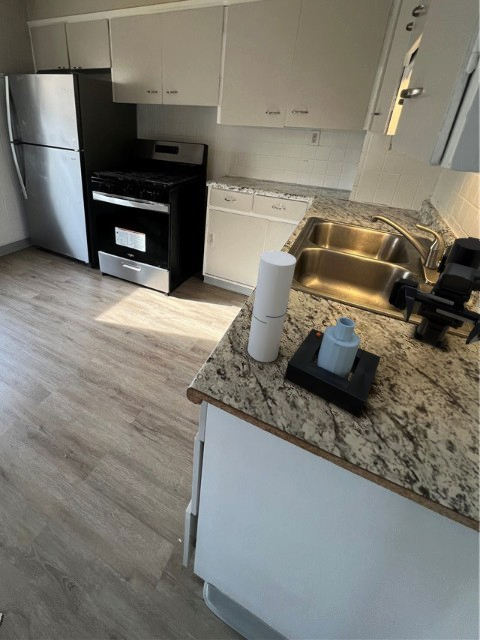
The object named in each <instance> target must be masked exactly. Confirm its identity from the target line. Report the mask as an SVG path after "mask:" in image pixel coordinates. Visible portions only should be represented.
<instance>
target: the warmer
mask: <svg viewBox="0 0 480 640" xmlns="http://www.w3.org/2000/svg"><path fill="white" fill-rule="evenodd" d="M324 333H325V332H322V331H320V330H317V329H316V328H313V327H312V328H311V330H310V331H309V333H308V334H307V336H306V337H305V338H304V339H303V341H302V342H301V344H300V345H299V347H298V348H297V349H296V351H295V352H294V353H293V355H292V356H291V358H290V359H289V361H288V362H287V365H286V370H285V374H284V379H285V380H287V381H289V382H291V384H294V385H296V386H298V387H300V388H301V389H304V390H305V391H307V392H309V393H311V394H313V395H315V396H317V397H318V398H321V399H322V400H324V401H326V402H328V403H329V404H332V405H333V406H335V407H337V408H339V409H341V410H342V411H344V412H346V413H349V414H350V415H352V416H354V417H357V418H358V419H359V418H360V417H361V415H362V411H363V409H364V406H365V404H366V402H367V399H368V395H369V394H370V393H369V392H370V390H371V386H372V383H373V381H374V378H375V375H376V373H377V369H378V367H379V364H380V361H381V356H380V355H377V354H375V353H373V352H370V351H368V350H365V349H363V348H361V347H358V350H357V353H356V356H355V359H354V362H353V365H352V368H351V371H350V373H352V377H351V379H350V380H349V379H348V380H347V379H345V378H343V377H341V376H339V375H337V374H335V373H332V372H330V371H328V370H326V369H324V368H322V367H320V366H318V365H316V363H315V362H317V359H318V355H319V351H320V348H321V344H322V340H323V336H324Z"/></svg>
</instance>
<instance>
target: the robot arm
mask: <svg viewBox="0 0 480 640" xmlns="http://www.w3.org/2000/svg"><path fill="white" fill-rule="evenodd" d="M436 273H438V274H439V275H438V278H437V280H436V282H435V283H434V285H433V287H432V288H431V289H430V291H429V292H427V291H423V290H421V289H418V287H419V284H420V283H419V282H417V281H414V280H410V279H407V278H404V277H401V276H400V277H398V278H396V279H395V281H394V283H393V286H392V288H391V292H390V294H389V297H388V301H387V302H388V303H389V305H392V306H394V308H396V309H398V310H399V312H400V313H401V314H402V316H403V318H404V321H405V322H407V323H408V322H409V321H410V319H411V315H412V313H413V310H414V309H413V308H414V304H415V302H417V303H420V305H419V308H418V310H417V313H416V316H419V317H422V318H421V320H420V323H419V324H418V325H415V328H414V332H413V337H412V339H414V340H417V341H419V342H422V343H425V344H427V345H429V346H433V347H436V348H438V349H442V350H444V349H445V348H446V347H445V346H446V335H447V334H448V332H449V331H450V328H452V329H454V330H456V331H457V330H458V329H460V328H462V327H463V326H464V323H468V324H469V325H473V327H472V328H471V331H470V332H469V334H468V336H467V338H466V340H465V342H464V343H465V345H467V346H469V345H471V344H474V343H476V342H480V313H479V312H477V311H474V310H471V309H468V307H466V305H467V304H468V303H469V302H470V300H471V297H472V294H473V292H479V293H480V238H477V237H473V236H468V237H458V238H454V241H453V243H452V244H450V245H447V247H446V249H445V251H444V253H443V254H442V255H441V259H440V261H439V264H438V267H437V270H436Z"/></svg>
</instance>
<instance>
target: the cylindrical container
mask: <svg viewBox="0 0 480 640" xmlns="http://www.w3.org/2000/svg"><path fill="white" fill-rule="evenodd" d="M296 264H297V258H296V257H295V256H294V255H293V254H291V253H288V252H285V251H281V250H265V251H263V252H262V253H260V259H259V264H258V265H259V267H258V273H257V279H256V287H255V294H254V299H253V300H254V301H253V307H252V315H251V322H250V329H249V336H248V344H247V352H248V353H247V354H248V355H249V356H250V357H251V358H252V359H254V360H255V361H258V362H260V363H272V362H274V361H276V360H277V359H278V356H279V352H280V348H281V347H280V346H281V341H282V336H283V331H284V325H285V322H286V317H287V310H288V305H289V301H290V296H291V295H290V294H291V290H292V285H293V280H294V276H295V275H294V274H295V270H296Z"/></svg>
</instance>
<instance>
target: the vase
mask: <svg viewBox="0 0 480 640" xmlns="http://www.w3.org/2000/svg"><path fill="white" fill-rule="evenodd" d="M355 327H356V322H355V321H354V320H353V319H352V318H349V317H346V316H340V317H338V318H337V321H336V324H335V325H329V326H327V327H326V328H325V330H324V332H323V333H324V336H323V340H322V344H321V348H320V351H319V355H318V357H317V359H316V363H315V364H316V365H318V366H320V367H322V368H324V369H326V370H328V371H330V372H332V373H335V374H337V375H339V376H341V377H343V378H345V379H347V380H349V377H350V374H351V368H352V365H353V362H354V359H355V356H356V353H357V350H358V347H359V346H360V344H361V338H360V336H359V335H358V334H357V333H356V332H355V331H354V330H355ZM359 348H360V347H359Z"/></svg>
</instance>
